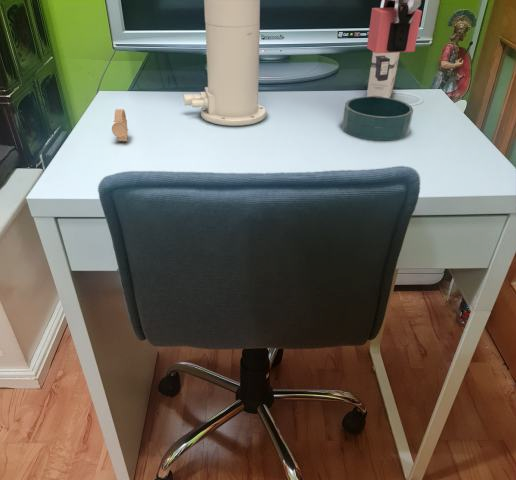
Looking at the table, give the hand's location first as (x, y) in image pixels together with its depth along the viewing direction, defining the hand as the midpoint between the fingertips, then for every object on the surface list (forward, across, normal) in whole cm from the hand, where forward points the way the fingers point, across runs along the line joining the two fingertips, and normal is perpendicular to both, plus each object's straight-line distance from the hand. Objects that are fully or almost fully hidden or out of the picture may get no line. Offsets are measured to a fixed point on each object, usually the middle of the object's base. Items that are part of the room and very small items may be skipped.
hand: (390, 46), depth 86 cm
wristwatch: (+13, -1, -46) cm, 48 cm away
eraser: (0, 0, 0) cm, 0 cm away
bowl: (+14, 0, 0) cm, 14 cm away
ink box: (+14, -20, +9) cm, 26 cm away
